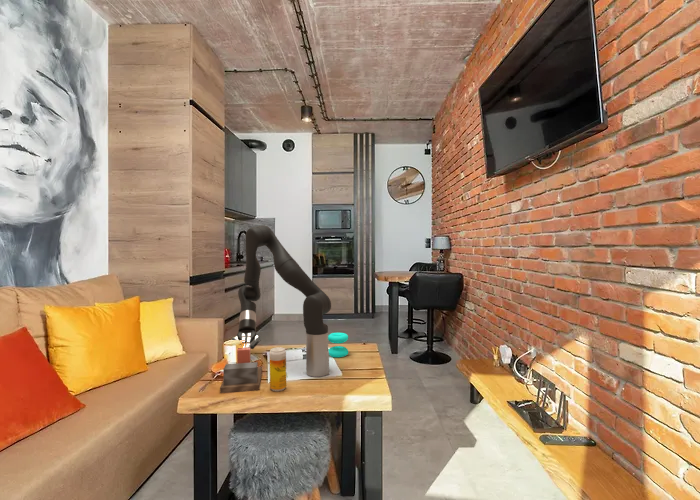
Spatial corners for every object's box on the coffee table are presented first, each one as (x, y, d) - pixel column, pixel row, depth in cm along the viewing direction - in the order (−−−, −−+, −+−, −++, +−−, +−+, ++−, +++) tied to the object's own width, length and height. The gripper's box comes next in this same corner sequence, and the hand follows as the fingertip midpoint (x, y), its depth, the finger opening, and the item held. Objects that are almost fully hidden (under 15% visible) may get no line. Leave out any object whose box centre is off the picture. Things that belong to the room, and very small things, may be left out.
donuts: (326, 332, 183) (345, 331, 185) (326, 352, 183) (345, 351, 185) (329, 337, 173) (350, 336, 175) (329, 359, 173) (350, 357, 176)
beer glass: (282, 392, 136) (282, 352, 136) (267, 391, 138) (266, 351, 137) (288, 386, 142) (288, 347, 142) (273, 384, 144) (273, 346, 143)
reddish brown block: (250, 368, 155) (250, 347, 155) (250, 371, 152) (249, 349, 152) (238, 369, 154) (237, 348, 154) (237, 372, 151) (237, 350, 151)
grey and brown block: (262, 371, 158) (261, 352, 158) (259, 390, 139) (258, 369, 138) (228, 373, 156) (227, 354, 156) (220, 393, 136) (219, 371, 136)
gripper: (231, 318, 166) (228, 354, 154) (261, 317, 168) (260, 352, 157) (233, 327, 171) (230, 362, 160) (262, 326, 174) (261, 360, 162)
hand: (245, 357), depth 158 cm, fingers closed
